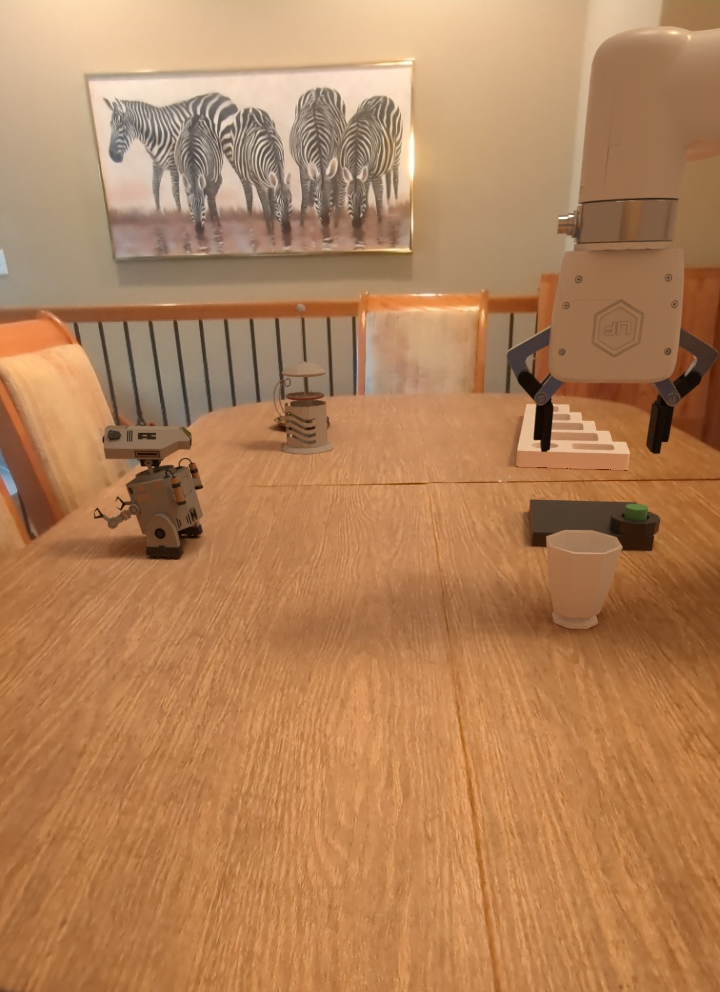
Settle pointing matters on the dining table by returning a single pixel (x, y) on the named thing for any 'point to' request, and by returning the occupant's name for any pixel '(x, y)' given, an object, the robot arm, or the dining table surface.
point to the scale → (591, 521)
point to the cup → (580, 575)
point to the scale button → (636, 512)
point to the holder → (570, 443)
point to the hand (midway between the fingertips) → (598, 449)
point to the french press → (304, 410)
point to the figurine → (157, 486)
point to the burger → (283, 422)
